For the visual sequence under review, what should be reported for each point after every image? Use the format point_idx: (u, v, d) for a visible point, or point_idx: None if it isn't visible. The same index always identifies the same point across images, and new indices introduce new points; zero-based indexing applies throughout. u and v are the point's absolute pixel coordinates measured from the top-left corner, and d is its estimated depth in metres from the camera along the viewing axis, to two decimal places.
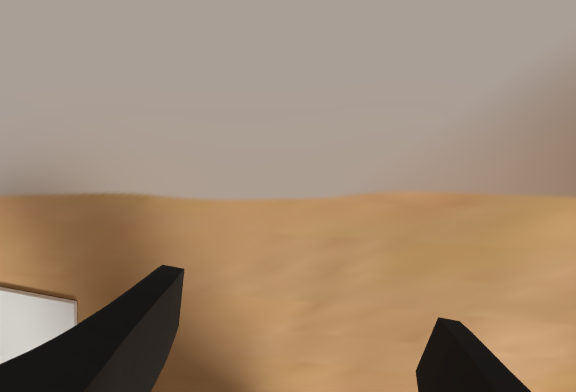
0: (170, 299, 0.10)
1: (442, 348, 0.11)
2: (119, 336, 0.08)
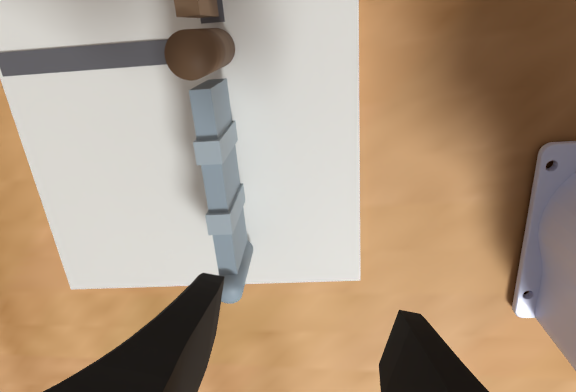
0: (214, 307, 0.10)
1: (401, 340, 0.10)
2: (177, 347, 0.08)
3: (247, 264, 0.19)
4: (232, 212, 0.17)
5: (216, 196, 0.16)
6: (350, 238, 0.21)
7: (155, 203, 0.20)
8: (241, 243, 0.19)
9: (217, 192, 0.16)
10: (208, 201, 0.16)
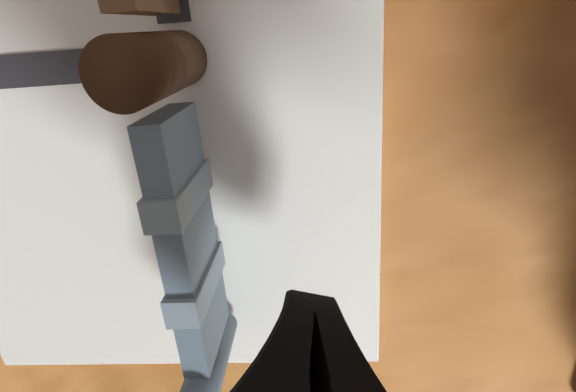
0: None
1: None
2: (303, 370, 0.08)
3: (226, 353, 0.14)
4: (200, 296, 0.12)
5: (175, 276, 0.11)
6: (366, 310, 0.15)
7: (107, 263, 0.15)
8: (218, 326, 0.14)
9: (177, 271, 0.11)
10: (164, 283, 0.11)
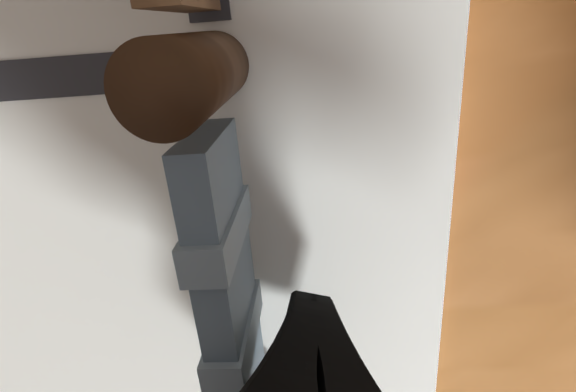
0: None
1: None
2: (310, 371, 0.08)
3: None
4: (245, 357, 0.09)
5: (217, 337, 0.09)
6: (423, 355, 0.13)
7: (122, 302, 0.13)
8: None
9: (218, 331, 0.09)
10: (202, 345, 0.09)
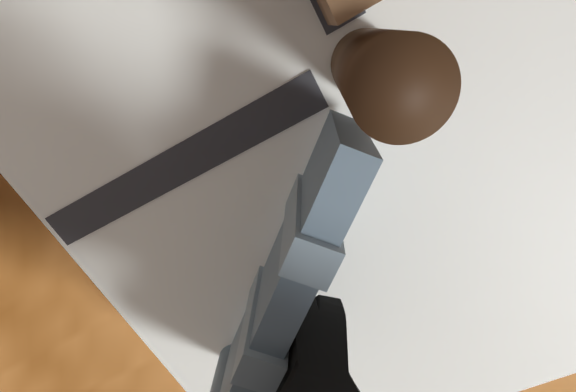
0: None
1: None
2: (343, 377, 0.08)
3: None
4: None
5: (278, 330, 0.09)
6: None
7: None
8: None
9: (284, 325, 0.08)
10: (259, 332, 0.09)
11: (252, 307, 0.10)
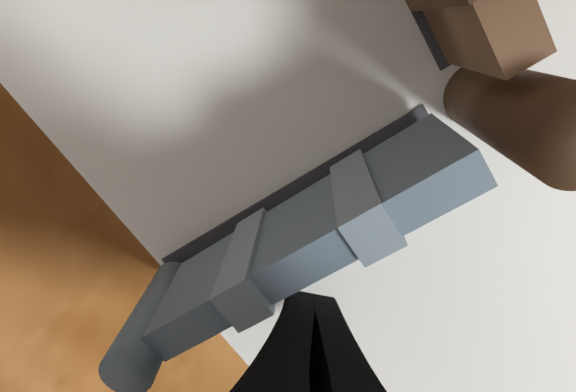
0: None
1: None
2: (303, 370, 0.08)
3: None
4: None
5: (289, 276, 0.08)
6: None
7: (444, 350, 0.13)
8: None
9: (299, 275, 0.08)
10: (272, 268, 0.08)
11: (254, 241, 0.09)
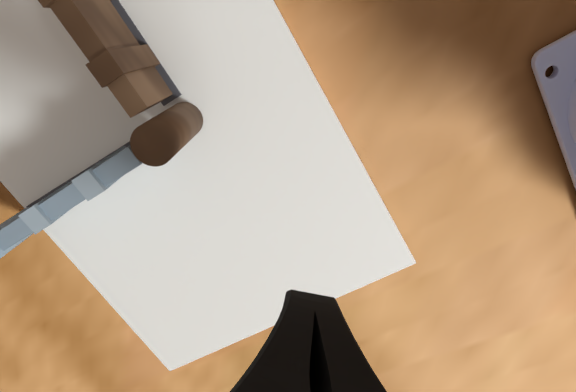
0: None
1: None
2: (303, 370, 0.08)
3: None
4: (54, 221, 0.17)
5: (57, 205, 0.17)
6: (386, 228, 0.20)
7: (201, 270, 0.22)
8: None
9: (61, 205, 0.17)
10: (47, 201, 0.17)
11: (55, 191, 0.18)
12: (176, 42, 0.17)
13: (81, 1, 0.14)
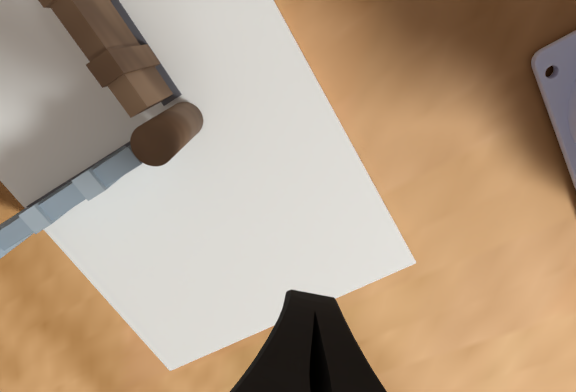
0: None
1: None
2: (303, 370, 0.08)
3: (21, 241, 0.19)
4: None
5: (57, 205, 0.17)
6: (386, 228, 0.20)
7: (201, 270, 0.22)
8: None
9: (61, 204, 0.17)
10: (48, 200, 0.17)
11: (55, 191, 0.18)
12: (176, 42, 0.17)
13: (81, 1, 0.14)
